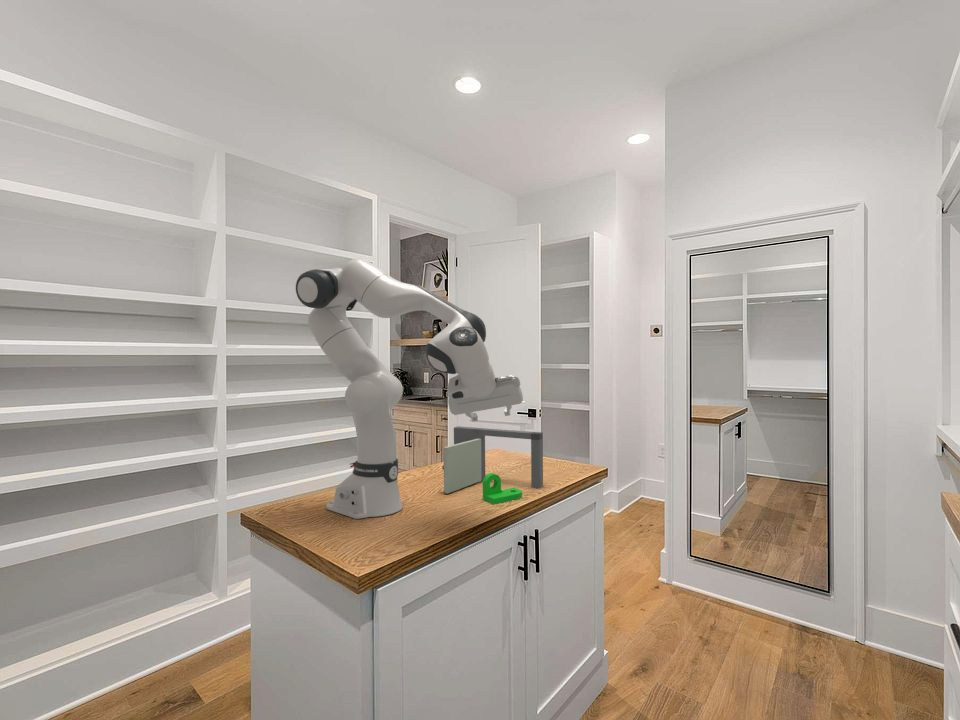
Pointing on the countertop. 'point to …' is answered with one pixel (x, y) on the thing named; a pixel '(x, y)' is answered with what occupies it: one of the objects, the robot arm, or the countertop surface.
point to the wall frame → (536, 437)
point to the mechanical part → (498, 491)
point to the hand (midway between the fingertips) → (491, 416)
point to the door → (462, 465)
